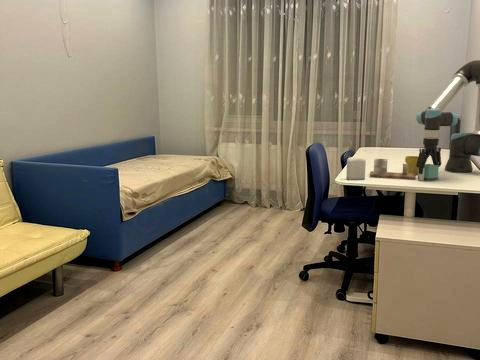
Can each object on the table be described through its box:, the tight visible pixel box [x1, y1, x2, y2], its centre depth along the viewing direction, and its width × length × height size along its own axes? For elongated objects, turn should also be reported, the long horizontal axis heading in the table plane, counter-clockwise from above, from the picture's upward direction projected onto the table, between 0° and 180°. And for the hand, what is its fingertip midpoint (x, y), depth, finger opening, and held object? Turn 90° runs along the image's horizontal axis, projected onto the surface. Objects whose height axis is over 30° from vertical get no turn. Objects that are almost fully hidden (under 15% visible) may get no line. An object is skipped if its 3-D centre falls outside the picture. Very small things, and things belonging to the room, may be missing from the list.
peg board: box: [369, 157, 417, 181], centre depth 246 cm, size 24×12×10 cm, turn 71°
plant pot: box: [404, 155, 419, 175], centre depth 257 cm, size 10×10×10 cm
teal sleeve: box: [417, 163, 440, 182], centre depth 238 cm, size 7×7×8 cm
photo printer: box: [345, 156, 367, 180], centre depth 238 cm, size 10×4×12 cm, turn 96°
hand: (427, 179), depth 238 cm, fingers open, 9 cm apart
